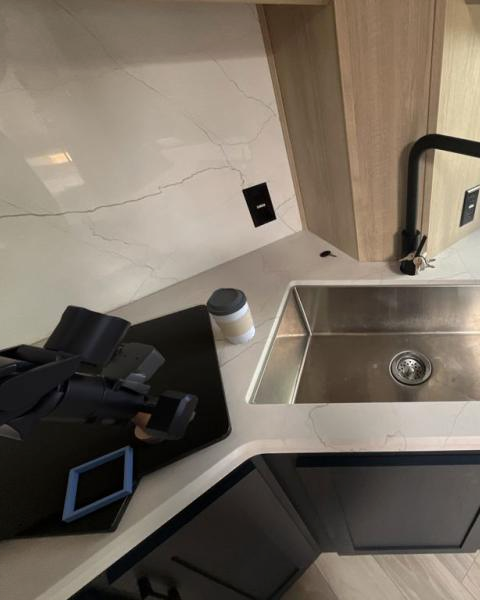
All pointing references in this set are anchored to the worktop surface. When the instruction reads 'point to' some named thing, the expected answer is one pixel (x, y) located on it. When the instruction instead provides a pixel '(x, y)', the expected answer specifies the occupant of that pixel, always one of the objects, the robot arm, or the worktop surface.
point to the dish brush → (140, 429)
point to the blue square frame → (71, 495)
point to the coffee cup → (231, 314)
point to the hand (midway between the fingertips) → (168, 410)
